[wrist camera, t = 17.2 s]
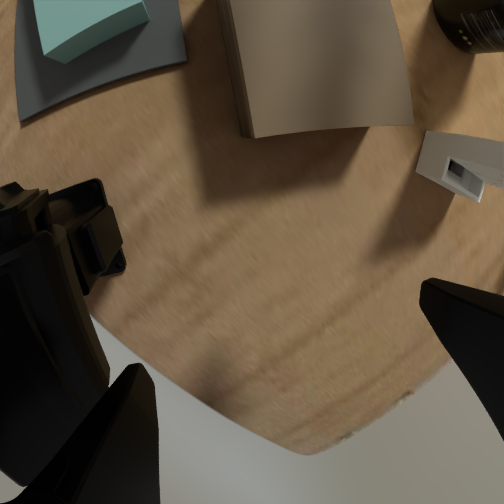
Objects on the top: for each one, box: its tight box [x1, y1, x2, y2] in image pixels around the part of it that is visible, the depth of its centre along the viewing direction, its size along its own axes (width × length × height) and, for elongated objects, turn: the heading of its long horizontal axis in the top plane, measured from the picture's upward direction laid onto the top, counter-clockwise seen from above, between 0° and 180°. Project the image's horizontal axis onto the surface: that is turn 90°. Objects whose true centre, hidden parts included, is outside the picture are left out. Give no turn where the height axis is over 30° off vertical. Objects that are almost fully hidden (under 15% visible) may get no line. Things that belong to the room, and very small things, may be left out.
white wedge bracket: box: [415, 130, 504, 202], centre depth 16 cm, size 4×10×9 cm, turn 75°
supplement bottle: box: [434, 0, 504, 54], centre depth 9 cm, size 7×7×12 cm
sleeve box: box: [217, 0, 414, 138], centre depth 13 cm, size 9×11×5 cm
